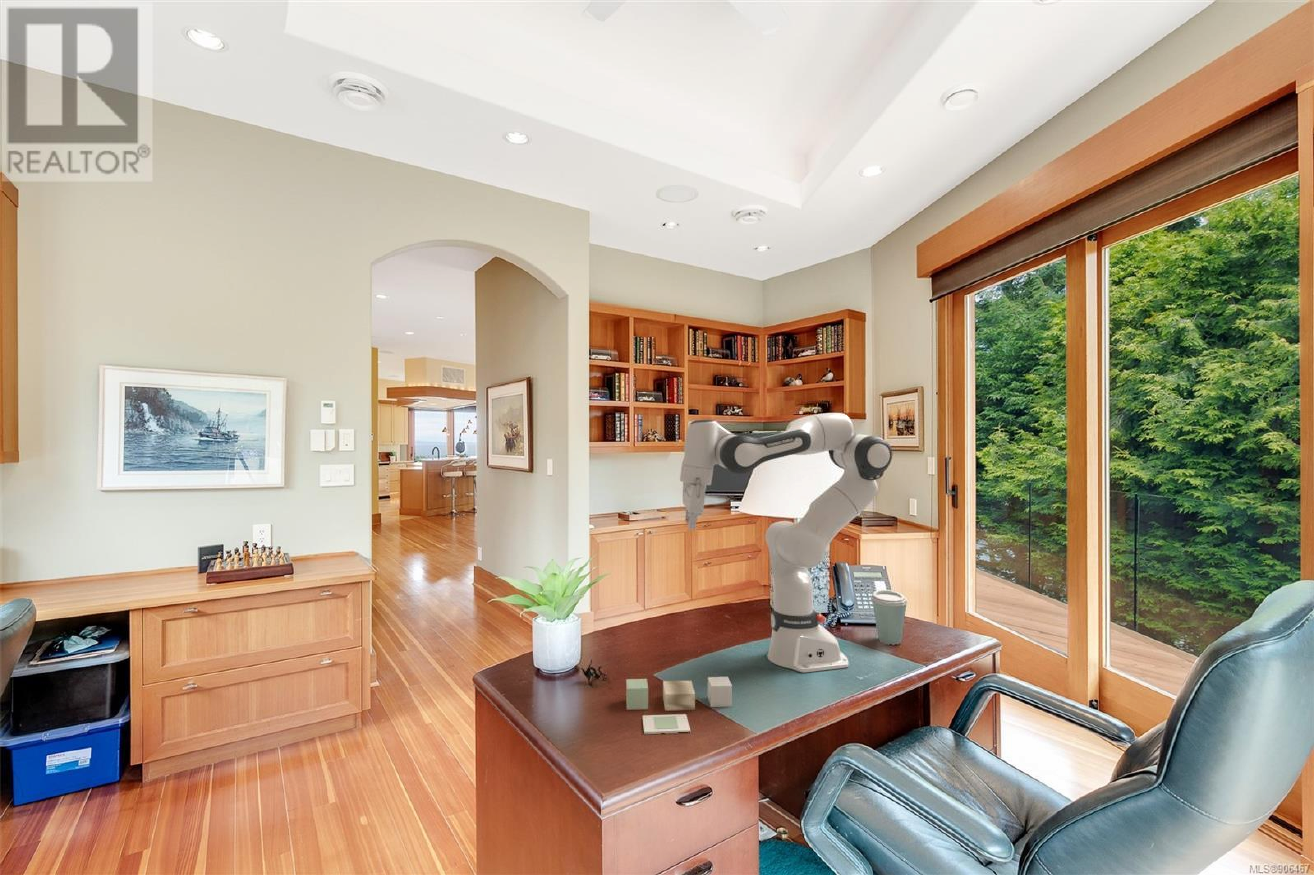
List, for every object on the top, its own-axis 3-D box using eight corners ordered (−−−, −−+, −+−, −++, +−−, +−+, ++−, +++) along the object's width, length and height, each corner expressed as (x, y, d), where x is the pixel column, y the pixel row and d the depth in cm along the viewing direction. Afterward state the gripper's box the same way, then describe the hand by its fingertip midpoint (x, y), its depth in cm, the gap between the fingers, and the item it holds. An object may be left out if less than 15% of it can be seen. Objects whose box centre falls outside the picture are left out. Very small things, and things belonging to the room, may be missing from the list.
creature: (615, 683, 145) (589, 672, 148) (619, 664, 145) (593, 653, 148) (601, 696, 138) (574, 684, 141) (605, 676, 138) (578, 664, 141)
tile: (686, 716, 126) (686, 713, 126) (690, 732, 119) (690, 730, 119) (642, 717, 126) (642, 715, 126) (644, 734, 119) (644, 731, 119)
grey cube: (727, 697, 136) (727, 676, 136) (731, 706, 131) (732, 685, 131) (707, 697, 136) (707, 677, 136) (711, 707, 131) (711, 686, 131)
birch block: (691, 696, 136) (691, 680, 136) (694, 711, 129) (694, 693, 129) (662, 697, 136) (663, 681, 136) (665, 711, 129) (665, 694, 129)
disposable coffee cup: (913, 648, 169) (913, 599, 169) (877, 647, 169) (878, 598, 169) (898, 635, 179) (899, 589, 179) (865, 635, 180) (865, 589, 180)
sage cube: (646, 699, 135) (646, 678, 135) (648, 709, 130) (648, 688, 130) (626, 699, 134) (626, 679, 134) (626, 710, 129) (626, 688, 129)
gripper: (712, 482, 143) (705, 534, 144) (702, 474, 164) (696, 520, 164) (688, 479, 143) (681, 532, 143) (681, 471, 164) (675, 518, 164)
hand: (689, 525), depth 154 cm, fingers open, 8 cm apart
